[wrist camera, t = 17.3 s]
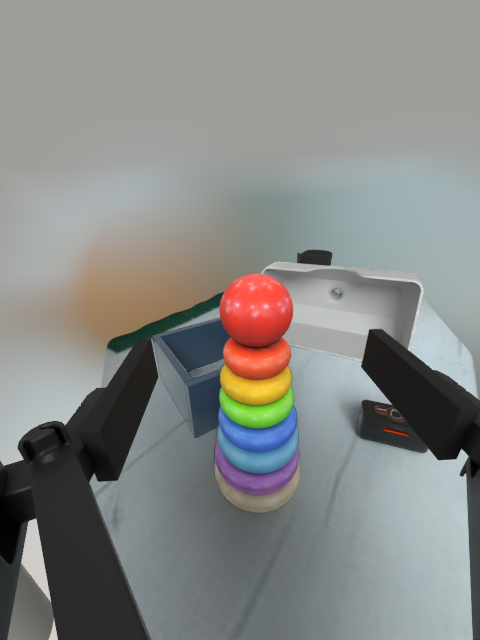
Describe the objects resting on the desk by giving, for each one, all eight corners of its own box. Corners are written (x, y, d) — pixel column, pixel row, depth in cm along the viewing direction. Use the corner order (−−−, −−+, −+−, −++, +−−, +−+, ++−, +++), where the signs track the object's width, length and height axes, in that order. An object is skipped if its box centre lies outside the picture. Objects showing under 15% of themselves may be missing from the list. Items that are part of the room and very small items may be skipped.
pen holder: (333, 291, 71) (338, 255, 67) (300, 292, 71) (303, 256, 66) (321, 281, 80) (324, 249, 75) (291, 283, 79) (293, 250, 75)
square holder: (159, 377, 37) (152, 335, 34) (234, 351, 44) (232, 313, 41) (194, 438, 27) (187, 387, 25) (284, 393, 34) (287, 347, 31)
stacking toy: (316, 468, 24) (346, 274, 16) (263, 543, 19) (269, 311, 11) (253, 423, 29) (252, 259, 21) (197, 473, 24) (170, 279, 16)
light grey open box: (400, 327, 50) (417, 264, 45) (405, 371, 37) (430, 290, 32) (280, 307, 61) (282, 255, 56) (251, 336, 48) (251, 271, 43)
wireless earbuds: (437, 459, 25) (448, 435, 23) (357, 440, 27) (363, 417, 25) (424, 423, 29) (432, 401, 27) (355, 409, 31) (360, 388, 29)
